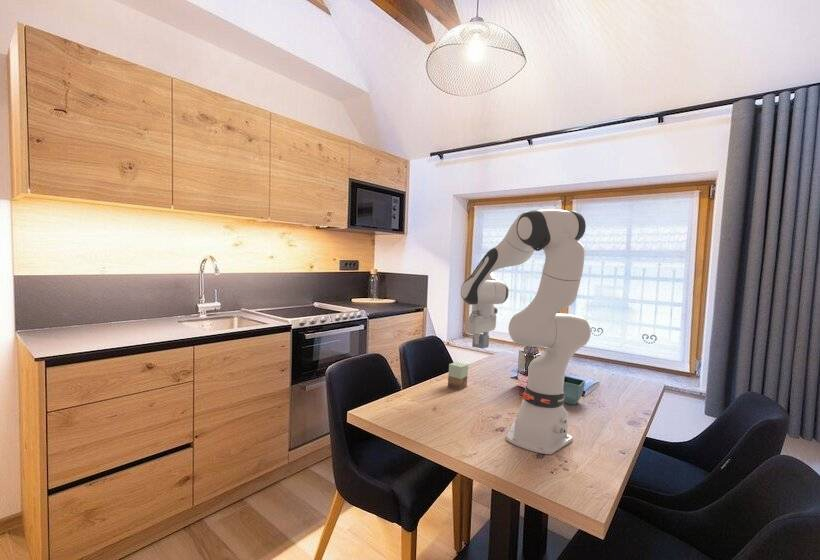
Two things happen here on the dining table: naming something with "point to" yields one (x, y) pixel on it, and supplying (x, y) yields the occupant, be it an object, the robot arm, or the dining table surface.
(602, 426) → the dining table surface
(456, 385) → the walnut block
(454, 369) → the sage block
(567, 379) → the flower pot
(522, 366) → the candy bar box
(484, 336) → the slate cube
